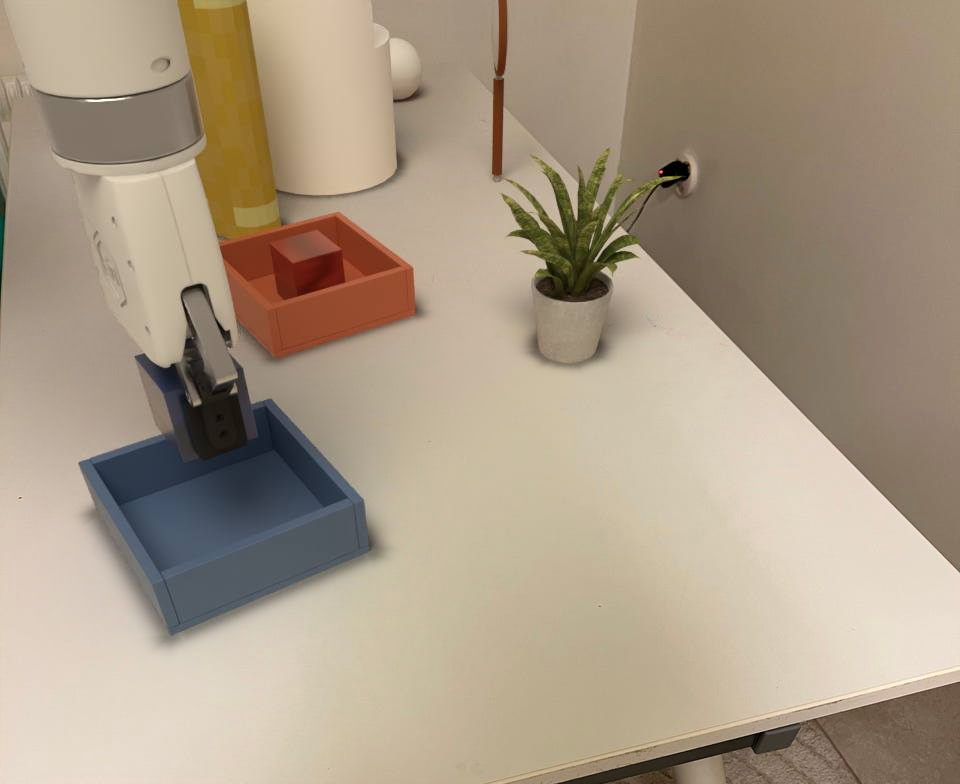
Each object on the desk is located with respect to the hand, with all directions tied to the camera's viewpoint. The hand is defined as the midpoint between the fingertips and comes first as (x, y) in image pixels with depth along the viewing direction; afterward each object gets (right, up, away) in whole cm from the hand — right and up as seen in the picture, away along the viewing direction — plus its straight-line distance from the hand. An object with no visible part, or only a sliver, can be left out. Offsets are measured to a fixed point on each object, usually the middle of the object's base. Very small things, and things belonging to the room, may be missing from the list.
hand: (204, 426), depth 58 cm
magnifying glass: (+20, +41, +50) cm, 68 cm away
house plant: (+27, +13, +25) cm, 39 cm away
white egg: (+5, +63, +70) cm, 94 cm away
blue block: (0, 0, 0) cm, 0 cm away
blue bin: (0, -6, +7) cm, 9 cm away
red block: (+2, +19, +29) cm, 35 cm away
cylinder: (-1, +44, +53) cm, 69 cm away
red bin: (+1, +19, +29) cm, 35 cm away
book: (-11, +33, +42) cm, 55 cm away
